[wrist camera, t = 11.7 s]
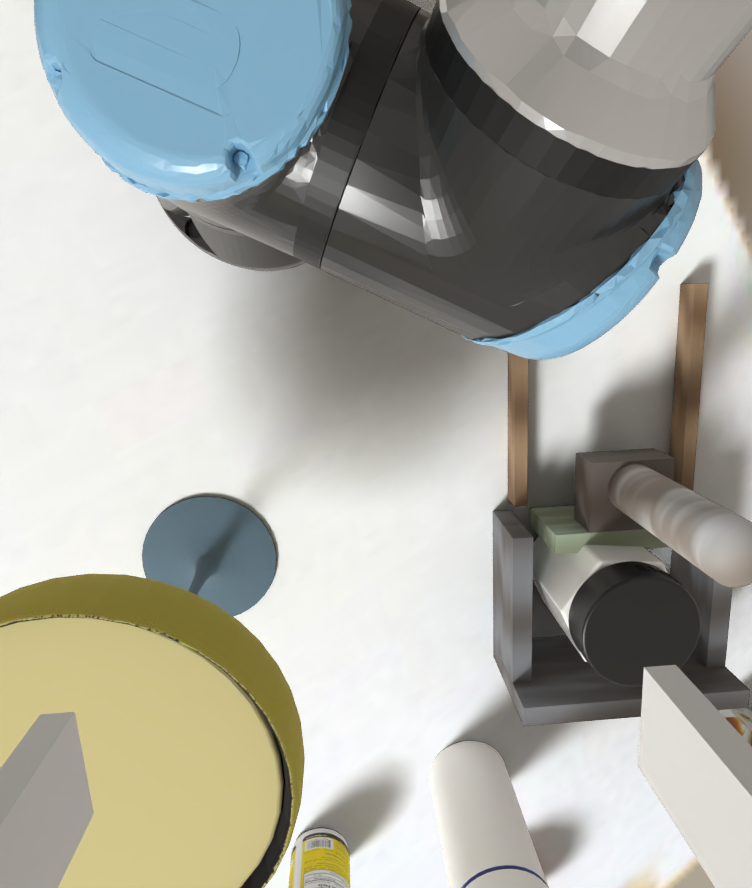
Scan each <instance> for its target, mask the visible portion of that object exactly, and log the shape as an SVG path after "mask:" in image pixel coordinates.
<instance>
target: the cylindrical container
mask: <svg viewBox="0 0 752 888" xmlns="http://www.w3.org/2000/svg"><path fill="white" fill-rule="evenodd" d="M429 782H430V787H431V793H432V798H433V804H434V809H435V814H436V820H437V825H438V831H439V836H440V841H441V847H442V852H443V858H444V863H445V868H446V874H447V879H448V885H449V888H549V887H548V884H547V881H546V879H545V876H544V873H543V870H542V867H541V865H540V862H539V859H538V856H537V853H536V850H535V848H534V845H533V842H532V839H531V836H530V834H529V831H528V828H527V825H526V822H525V820H524V817H523V814H522V811H521V808H520V806H519V803H518V800H517V797H516V794H515V791H514V789H513V786H512V783H511V780H510V777H509V775H508V772H507V769H506V766H505V763H504V761H503V759H502V757H501V755H500V754H499V753H498V752H497V751H496V750H495V749H494V748H493V747H491V746H490V745H487V744H485V743H482V742H478V741H462V742H459V743H455V744H453V745H451V746H449V747H447V748H445V749H444V750H443V751H441V752H440V753H439V754H438V755H437V756H436V758H435V759H434V761H433V762H432V765H431V767H430V772H429Z"/></svg>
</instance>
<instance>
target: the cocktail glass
mask: <svg viewBox="0 0 752 888" xmlns="http://www.w3.org/2000/svg"><path fill="white" fill-rule="evenodd" d="M142 560H143V568H144V572H145V576H146V578H147V579H146V578H140V577H134V576H128V575H114V574H84V575H76V576H69V577H61V578H53V579H50V580H46V581H43V582H39V583H36V584H32V585H29V586H25V587H22V588H19V589H17V590H15V591H12V592H10V593H8V594H6V595H4V596H2V597H0V769H1V767H2V766H3V764H4V763H5V762H6V760H7V759H8V758H9V756H10V755H11V754H12V752H13V751H14V749H15V748H16V747H17V745H18V744H19V743H20V741H21V740H22V739H23V737H24V736H25V734H26V733H27V732H28V730H29V729H30V728H31V726H32V725H33V724H34V722H35V721H36V719H37V718H38V717H39V715H40V714H53V713H65V712H75V715H76V721H77V726H78V731H79V737H80V742H81V747H82V753H83V758H84V763H85V769H86V774H87V779H88V785H89V790H90V795H91V801H92V806H93V811H94V814H93V816H92V818H91V820H90V823H89V825H88V827H87V829H86V831H85V833H84V835H83V837H82V839H81V841H80V843H79V845H78V847H77V849H76V851H75V853H74V856H73V858H72V860H71V862H70V864H69V866H68V868H67V870H66V872H65V874H64V876H63V878H62V880H61V882H60V884H59V886H58V888H264V887H265V886H266V885H267V883H268V882H269V881H270V879H271V878H272V877H273V875H274V874H275V872H276V870H277V868H278V866H279V864H280V862H281V860H282V858H283V856H284V854H285V852H286V850H287V848H288V846H289V843H290V840H291V837H292V833H293V830H294V826H295V823H296V819H297V816H298V812H299V808H300V803H301V796H302V785H303V773H304V747H303V738H302V729H301V722H300V718H299V714H298V711H297V708H296V705H295V701H294V698H293V695H292V692H291V689H290V687H289V685H288V683H287V681H286V680H285V678H284V676H283V674H282V672H281V670H280V668H279V666H278V665H277V663H276V662H275V660H274V659H273V658H272V657H271V655H270V654H269V653H268V651H267V650H266V649H265V647H264V646H263V645H262V643H261V642H260V641H259V640H258V639H257V638H256V637H255V636H254V635H253V634H252V633H251V632H250V631H249V630H248V629H247V628H246V627H245V626H244V625H243V624H241V623H240V622H239V621H238V620H237V619H235V618H234V617H233V616H236V615H238V614H241V613H243V612H245V611H246V610H248V609H250V608H251V607H252V606H254V605H255V604H256V603H257V602H258V601H259V600H260V599H261V598H262V597H263V596H264V595H265V593H266V592H267V590H268V589H269V587H270V585H271V583H272V580H273V578H274V574H275V570H276V552H275V546H274V543H273V539H272V537H271V535H270V533H269V531H268V529H267V528H266V526H265V525H264V524H263V522H262V521H261V520H260V519H259V518H258V517H257V516H256V515H255V514H254V513H253V512H251V511H250V510H249V509H247V508H246V507H244V506H242V505H240V504H239V503H237V502H234V501H231V500H228V499H224V498H219V497H207V496H203V497H195V498H190V499H187V500H183V501H181V502H179V503H176V504H174V505H172V506H171V507H169V508H168V509H167V510H165V511H164V512H163V513H162V514H161V515H160V516H158V517H157V518H156V520H155V521H154V522H153V524H152V525H151V526H150V528H149V530H148V532H147V534H146V537H145V541H144V544H143V551H142Z"/></svg>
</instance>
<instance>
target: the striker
mask: <svg viewBox="0 0 752 888" xmlns="http://www.w3.org/2000/svg"><path fill="white" fill-rule="evenodd" d="M674 463H675V458H673V457H671V456H669V455H667V454H665V453H663V452H660V451H658V450H656V449H654V448H651V449H635V450H618V451H602V452H586V453H576V469H575V504H574V505H569V506H554V507H539V508H530V525H531V527H532V528H533V529H534V530H535V531H536V532H537V534H538V535H539V536H540V537H541V538H542V540H543V541H544V542H545V543H546V544H547V545H548V547H549V548H550V549H551V550H552V551H553V552H554V554H555V555H556V554H571V553H578V552H579V551H580V549H581V548H582V547H583V546H584V545H611V546H642V547H644V548H657V547H670V548H672V549H673V550H674V551H676V552H677V553H678V554H680V555H681V556H683V557H684V558H685V559H687V560H688V561H689V562H691V563H692V564H693V565H695V566H696V567H697V568H699V569H700V570H701V571H703V572H704V573H705V574H707V575H708V576H710V577H711V578H712V579H714V580H715V581H716V582H718V583H719V584H721V585H724V586H727V587H743V586H746V585H749V584H751V583H752V522H750V521H748V520H746V519H744V518H743V517H741V516H739V515H737V514H735V513H733V512H731V511H729V510H727V509H726V508H724V507H722V506H720V505H718V504H716V503H714V502H712V501H711V500H709V499H707V498H705V497H703V496H701V495H699V494H697V493H696V492H694V491H692V490H690V489H688V488H686V487H684V486H682V485H680V484H679V483H677V482H675V481H673V478H674Z"/></svg>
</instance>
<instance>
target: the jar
mask: <svg viewBox="0 0 752 888" xmlns="http://www.w3.org/2000/svg"><path fill="white" fill-rule="evenodd" d="M533 581H534V583H535V585H536V587H537V589H538V591H539V593H540V595H541V598H542V600H543V601H544V603H545V604H546V606H547V607H548V609H549V610H550V612H551V613H552V614H553V616H554V617H555V619H556V620H557V622H558V623H559V625H560V626H561V628H562V629H563V631H564V632H565V633H566V635H567V636H568V638H569V639H570V641H571V642H572V644H573V645H574V647H575V648H576V650H577V651H578V653H579V654H580V656H581V657H582V658H583V660H584V661H585V662H588V664H589V665H590V667H591V668H592V669H593V670H594V671H595V672H596V673H597V674H598V675H600V676H601V677H602V678H604V679H606V680H608V681H610V682H612V683H615V684H619V685H624V686H643V673H644V667H653V666H666V665H676V666H677V667H678V668H680V667H682V666H683V665H684V663H685V662H686V661H687V660H688V659H689V657H690V656H691V654H692V653H693V651H694V649H695V647H696V645H697V642H698V639H699V635H700V627H701V620H700V614H699V610H698V607H697V604H696V602H695V600H694V599H693V597H692V596H691V595H690V593H689V592H688V591H687V590H686V589H685V588H684V587H683V586H682V584H681V583H679V582H678V581H677V580H676V579H675V578H673V577H672V576H671V575H669V574H668V572H667V570H666V568H665V565H664V563H663V562H662V561H660V560H659V559H658V558H657V557H655V556H654V555H653V554H652V553H650V552H649V551H648V550H647V549H645V548H644V547H642V546H611V545H584V546H583V547H582V548H581V549H580V551H579V552H578V553H571V554H556V555H555V554H554V552H553V551H552V550H551V549H550V548H549V547H548V545H547V544H546V543H545V542H544V541H543V540H542V538H541V537H540V536H539V537H538V538H537V540H536V541H535V542H534V544H533Z"/></svg>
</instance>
